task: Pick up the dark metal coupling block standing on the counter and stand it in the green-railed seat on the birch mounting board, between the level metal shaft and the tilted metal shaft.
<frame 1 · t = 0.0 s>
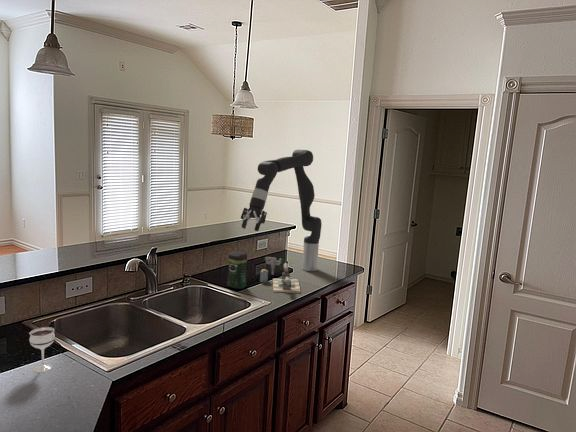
hand: (249, 229, 209), 31 cm above the worktop, tool tilted 20°, fingers open, 8 cm apart
coffee jar: (236, 287, 218), on the worktop
mechanical component: (272, 274, 243), on the worktop
shaft rig: (286, 286, 223), on the worktop
coupling block: (263, 281, 229), on the worktop
wineglass: (43, 368, 129), on the worktop
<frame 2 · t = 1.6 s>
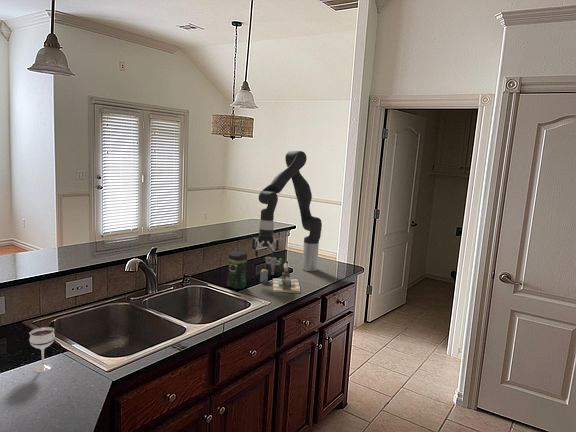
hand: (264, 257, 227), 14 cm above the worktop, tool pointing down, fingers open, 8 cm apart
nothing on the worktop moved.
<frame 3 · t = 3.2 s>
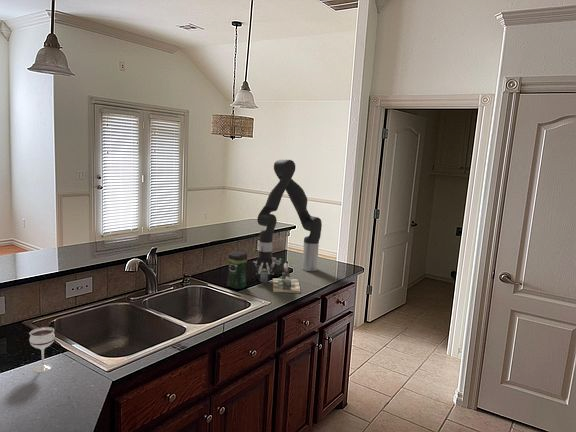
hand: (263, 279, 229), 1 cm above the worktop, tool pointing down, fingers closed on coupling block, 4 cm apart
coupling block: (263, 281, 229), on the worktop, touching gripper
everything else where it was.
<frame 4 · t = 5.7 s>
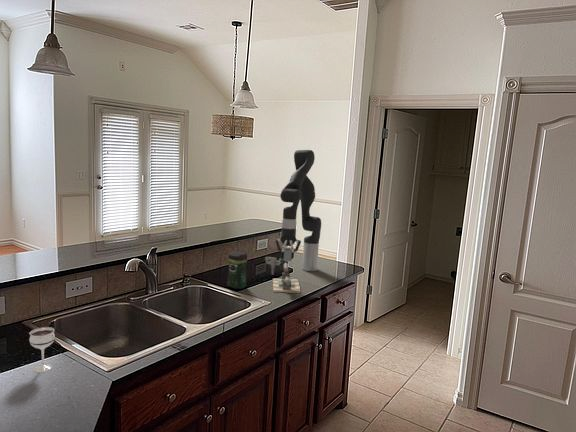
hand: (287, 258, 221), 15 cm above the worktop, tool pointing down, fingers closed on coupling block, 4 cm apart
coupling block: (287, 260, 221), point 14 cm above the worktop, touching gripper
everything else where it was.
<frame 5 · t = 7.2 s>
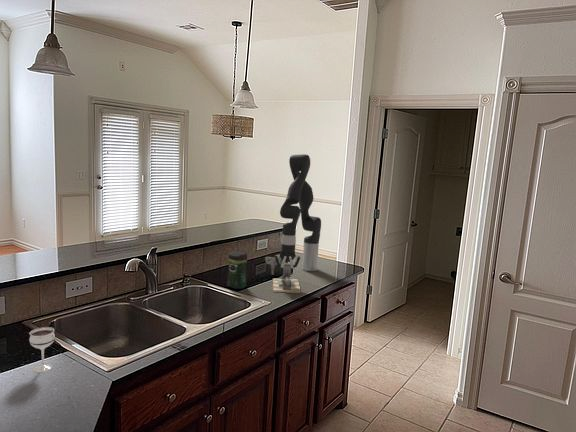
hand: (286, 274, 222), 7 cm above the worktop, tool pointing down, fingers closed on coupling block, 4 cm apart
coupling block: (286, 275, 222), point 6 cm above the worktop, touching gripper
everything else where it was.
when the fingers open (4 cm above the worktop, at t = 8.2 s): coupling block drops 2 cm, resting on shaft rig.
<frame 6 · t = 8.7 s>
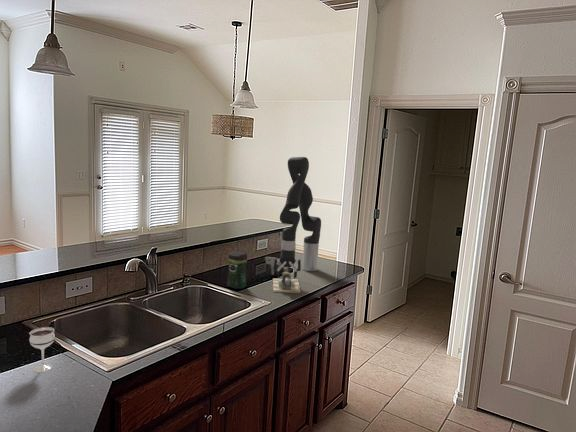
hand: (286, 277, 222), 5 cm above the worktop, tool pointing down, fingers open, 8 cm apart
coupling block: (286, 284, 223), point 1 cm above the worktop, touching shaft rig
everything else where it was.
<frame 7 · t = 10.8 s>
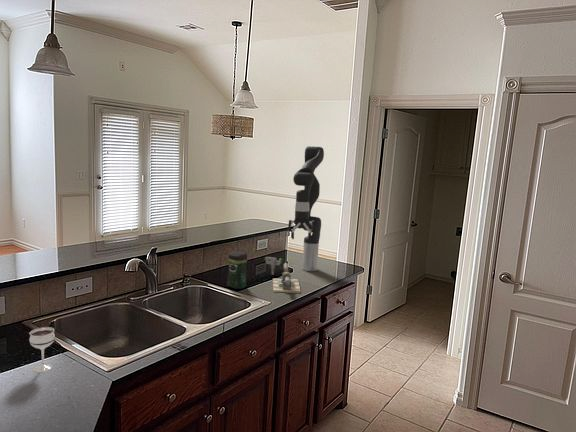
hand: (300, 239, 226), 25 cm above the worktop, tool pointing down, fingers open, 8 cm apart
nothing on the worktop moved.
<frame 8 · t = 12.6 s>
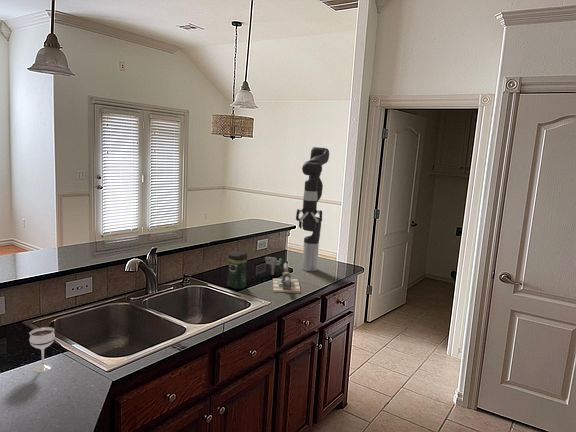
hand: (308, 228, 229), 30 cm above the worktop, tool pointing down, fingers open, 8 cm apart
nothing on the worktop moved.
at the end: coupling block 0.0 cm off-centre on the shaft rig, point 1.0 cm above the shaft rig's base; coupling block tilted 0°; the gripper is holding nothing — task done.
